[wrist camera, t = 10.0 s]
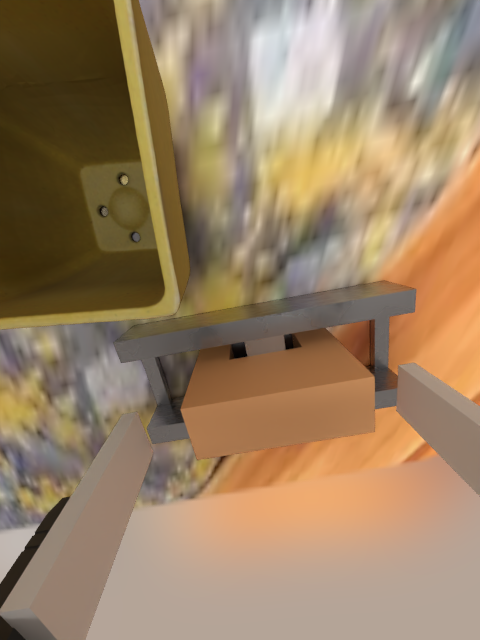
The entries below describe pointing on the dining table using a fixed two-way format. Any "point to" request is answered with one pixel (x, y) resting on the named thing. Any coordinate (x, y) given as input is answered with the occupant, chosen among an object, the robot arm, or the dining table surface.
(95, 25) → the flower pot
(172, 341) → the rail
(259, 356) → the brown notched block
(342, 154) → the dining table surface
